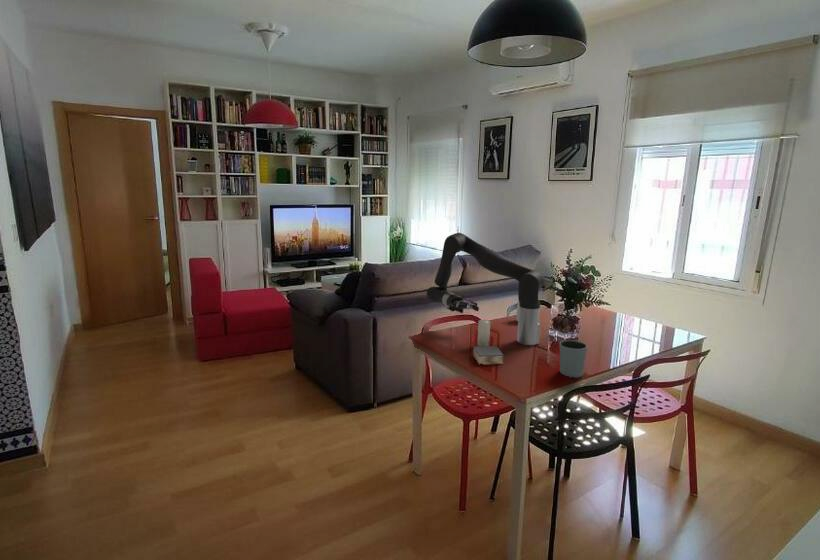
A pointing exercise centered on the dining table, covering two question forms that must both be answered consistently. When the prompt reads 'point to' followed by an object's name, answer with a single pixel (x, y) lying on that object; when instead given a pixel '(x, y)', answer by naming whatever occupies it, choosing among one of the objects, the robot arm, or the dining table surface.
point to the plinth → (488, 355)
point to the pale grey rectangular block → (483, 332)
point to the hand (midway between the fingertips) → (470, 310)
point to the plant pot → (572, 358)
